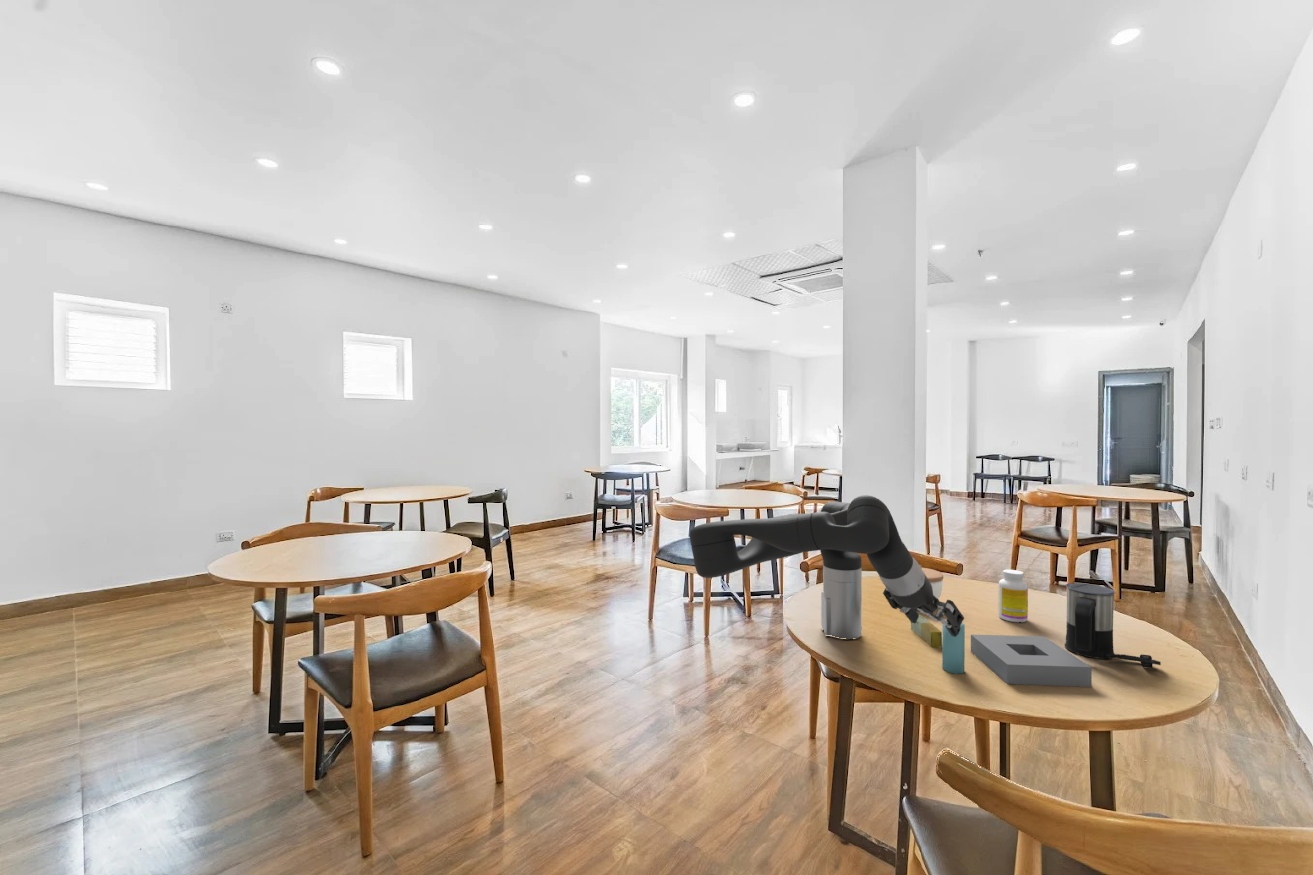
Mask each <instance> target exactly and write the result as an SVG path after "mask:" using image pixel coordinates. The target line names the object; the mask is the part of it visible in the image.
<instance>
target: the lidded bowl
mask: <svg viewBox="0 0 1313 875" xmlns="http://www.w3.org/2000/svg"><path fill="white" fill-rule="evenodd" d="M919 566H920V567H921V569H922V570H923V572H924V574H925V575H926V577H927V578H928V580H929V581H930V583H931V585H932V589H933V595H934V596H935V597H936V598H937V599H938V600H939V598H940V597H941V594H942V591H943V582H944V580H943V579H944V574H943V573H942V572H941V571H938V570H936V569H932V568H929V567H928V568H927V567H922V565H920V564H919Z"/></svg>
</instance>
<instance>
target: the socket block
mask: <svg viewBox="0 0 1313 875" xmlns="http://www.w3.org/2000/svg"><path fill="white" fill-rule="evenodd" d="M970 652H971V653H972V654H973V655H974V656H975V657H976V658H977V659H979V660H980V662H982V663H983V664H984V665H985V666H987V667H988V669H990V670H991V671H992V672H994V674H995V675H996V676H998V677H999V679H1001V680H1002V681H1003V682H1004V683H1006V684H1007V685H1030V686H1033V685H1034V686H1053V687H1054V686H1056V687H1057V686H1058V687H1059V686H1060V687H1062V686H1063V687H1084V688H1085V687H1086V688H1087V687H1089V688H1092V686H1093V685H1092V682H1093V681H1092V679H1093V678H1092V677H1093V670H1092V668H1093V666H1090V664H1087V663H1086V662H1085V661H1083V660H1082V659H1079V658H1078V657H1077V656H1076V655H1073V653H1070V652H1069V651H1068V650H1066V649H1065V648H1063V647H1061V646H1060V645H1058V644H1056V643H1055V641H1052V640H1050V639H1049V638H1047V637H1046V636H1040V635H1039V636H1038V635H1005V634H1003V635H1002V634H1000V635H999V634H970Z"/></svg>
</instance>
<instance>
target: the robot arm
mask: <svg viewBox="0 0 1313 875" xmlns="http://www.w3.org/2000/svg"><path fill="white" fill-rule="evenodd" d="M735 536H747V537H750V538H751V539H750V540H749V541H748V542H747V544H746V545H745V546H744V547H743V548H742V549H740V550H737V549H738V548H737V543H736V539H735ZM689 540H690V545H691V550H692V556H693V561H694V567H695V570H696V573H697V574H698V576H699V577H701V578H705V579H712V578H719V577H722V576H726V575H728V574H732V573H735V572H738V571H741V570H745V569H747V568H750V567H753V566H755V565H758V564H762V563H765V562H770V561H773V560H774V561H775V560H779V559H784V558H789V557H791V556H792V557H793V556H795V555H799V554H803V553H807V552H816V551H819V552H820V555H821V557H822V566H823V567H822V569H823V570H822V572H823V573H822V577H823V578H822V582H823V584H822V586H823V587H822V589H823V591H821V593H820V594H821V596H820V599H821V606H820V607H821V608H820V609H821V610H820V612H821V614H820V615H821V616H820V617H821V619H820V620H821V621H820V623H821V626H822V628H823V630H824V632H825V634H826V635H832V636H835V637H839V638H846V639H853V638H858V637H860V636H861V637H862V635H863V634H862V631H863V630H862V628H863V626H862V624H863V623H862V617H863V616H862V614H863V610H862V605H863V604H862V595H863V594H862V593H863V592H862V585H863V584H862V579H863V578H862V575H863V574H862V570H863V568H862V566H863V565H862V557H861V555H860V554H865V555H866V556H867V558H868V561H869V562H870V564H871V566H872V567H873V569H874V570H875V571H876V573H877V574H878V577H879V578H880V579H879V580H880V581H881V583H882V584H883V585H884V587H885V588H884V590H883V592H882V594H883V596H884V597H885V599H886V600H887V602H888V604H889V606H890V607H891V608H892V609H893V610H898V609H899V611H900V612H901V613H902V614H904V615H905V617H906V618H907V619H908V620H909V621H910V623H911V622H912V623H916V621H917V619H918V617H919V615H918V614H919V613H921V614H923V615H926V616H927V617H929V618H930V619H931V620H933V621H934V622H937V623H938V622H940V623H941V624H942V625H943V624H944V625H945V627H946V628H947V630H948V631H949V633H950V634H951V636H954V637H956V636H957V635H958V634H959V632H960V630H961V628H960V626H961V623H963V621H964V620H965V617H964V615H963V614H962V612H961V611H960V610H959V608H958V607H957V605H956V604H955V603H954V601H953V600H951V599H946V602H944V601H940V600H939V599H937V598H936V597H935V596H934V595H933V589H932V585H931V583H930V581H929V580H928V578H927V577H926V575H925V574H924V572H923V570H922V569H921V568H922V566H921V565H920V564H919V563H918V561H917V560H916V559H915V558H914V556H912V555H911V554H912V553H910V551H909V550H908V547H907V546H906V545H905V543H904V542H903V540H902V539H901V536H900V533H899V531H898V527H897V525H896V523H895V520H894V518H893V516H892V514H891V511H890V510H889V508H888V506H887V505H886V504H885V503H884V501H882V500H881V499H880V498H877V497H876V496H873V495H868V494H867V495H859V496H857V497H855V498H853V499H852V500H851V501H850V502H849V503H848V502H843V501H837V500H836V501H835V500H833V501H827V502H826V503H825V504H824V505H823V506H822V508H821V510H820V511H817V512H816V511H815V512H812V513H811V512H810V513H788V514H784V515H779V516H774V517H771V518H746V519H743V518H742V519H731V520H718V521H711V522H706V523H702V524H699V525H697V526H693V527H692V528H691V529H690V530H689ZM919 565H920V566H921V567H920V566H919ZM937 609H938V610H937ZM936 610H937V612H936ZM935 612H936V614H935ZM944 616H945V617H946V618H947V619H945V618H944ZM822 628H821V629H822ZM823 630H822V631H823ZM824 632H823V633H824ZM825 634H824V635H825ZM861 634H862V635H861ZM861 637H860V638H861ZM858 639H859V638H858ZM853 640H854V639H853Z"/></svg>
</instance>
